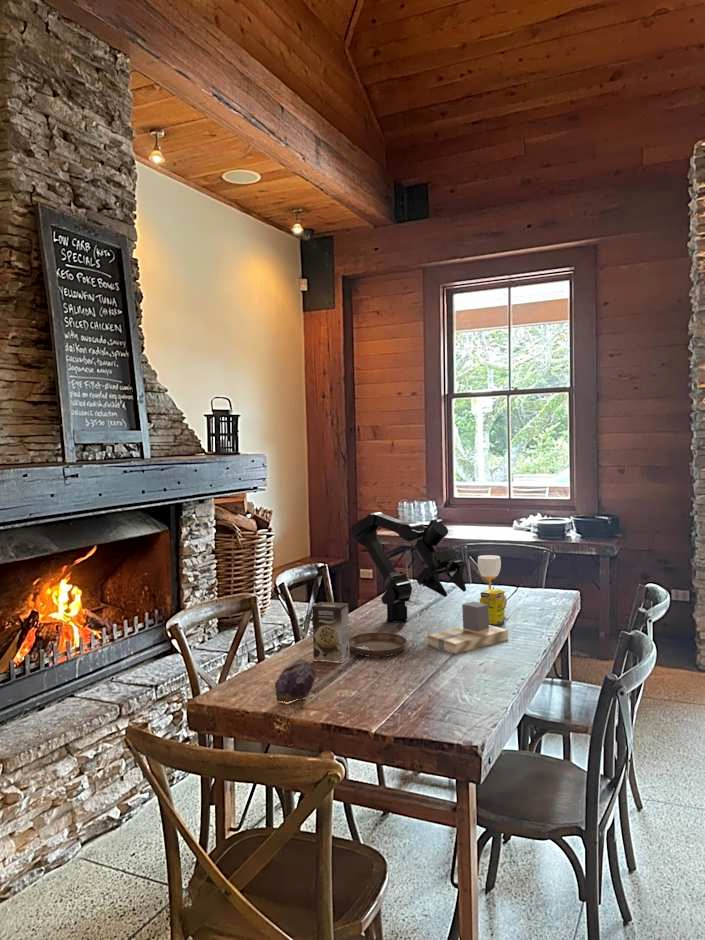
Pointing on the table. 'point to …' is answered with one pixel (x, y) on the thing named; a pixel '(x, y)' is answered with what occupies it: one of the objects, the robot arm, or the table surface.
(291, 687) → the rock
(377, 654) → the plant saucer
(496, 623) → the supplement box
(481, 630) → the block
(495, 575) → the cup
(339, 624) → the cookie box
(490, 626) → the birch board
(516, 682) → the table surface
